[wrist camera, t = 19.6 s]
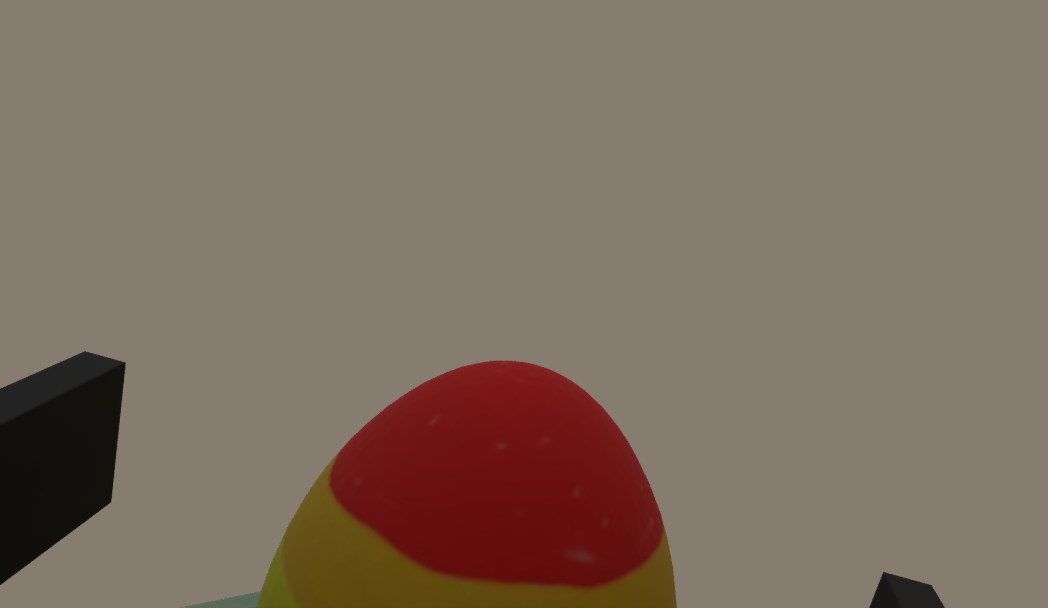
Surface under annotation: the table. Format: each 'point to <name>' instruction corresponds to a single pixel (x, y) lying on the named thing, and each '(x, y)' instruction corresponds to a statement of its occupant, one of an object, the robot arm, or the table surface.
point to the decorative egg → (479, 505)
